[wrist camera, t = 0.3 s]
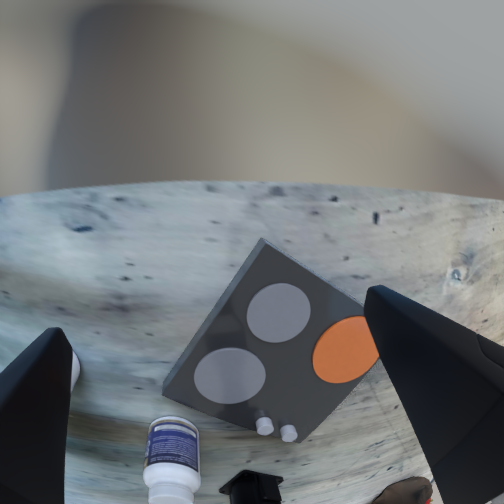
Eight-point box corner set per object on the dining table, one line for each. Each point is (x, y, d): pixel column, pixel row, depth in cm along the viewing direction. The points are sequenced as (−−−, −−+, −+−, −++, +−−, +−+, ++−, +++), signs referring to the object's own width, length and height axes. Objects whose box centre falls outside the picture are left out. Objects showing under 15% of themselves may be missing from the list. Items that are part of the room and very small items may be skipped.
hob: (295, 431, 30) (302, 451, 27) (163, 381, 26) (160, 403, 23) (390, 322, 28) (407, 337, 25) (261, 236, 24) (269, 247, 21)
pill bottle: (141, 416, 27) (130, 491, 17) (191, 412, 27) (192, 490, 18) (158, 447, 28) (153, 516, 19) (204, 443, 29) (209, 515, 19)
